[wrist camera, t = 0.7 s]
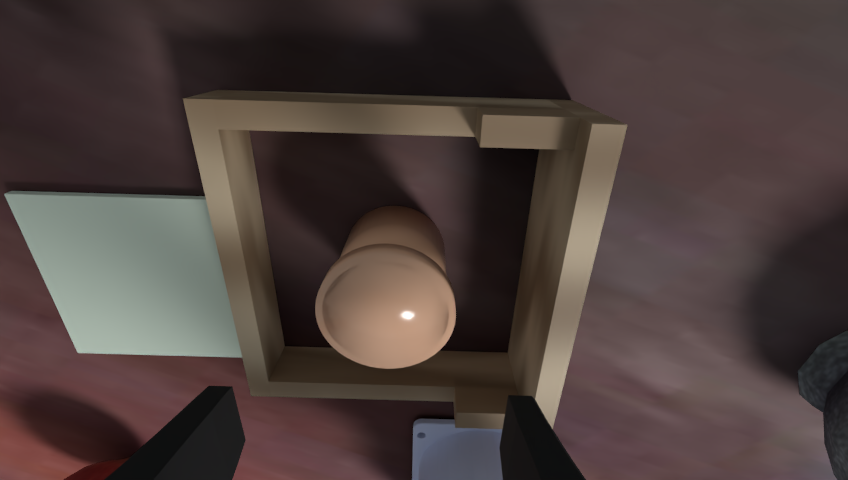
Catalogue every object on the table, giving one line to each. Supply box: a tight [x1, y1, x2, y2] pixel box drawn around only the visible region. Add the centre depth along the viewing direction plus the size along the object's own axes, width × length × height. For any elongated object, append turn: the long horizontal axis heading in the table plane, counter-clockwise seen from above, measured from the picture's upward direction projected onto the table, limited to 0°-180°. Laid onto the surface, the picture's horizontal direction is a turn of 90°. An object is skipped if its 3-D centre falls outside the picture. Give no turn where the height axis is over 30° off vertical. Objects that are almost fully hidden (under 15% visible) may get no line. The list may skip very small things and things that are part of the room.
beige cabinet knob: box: [315, 206, 456, 369], centre depth 17 cm, size 5×5×5 cm
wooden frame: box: [183, 90, 627, 429], centre depth 17 cm, size 14×14×5 cm
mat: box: [4, 191, 242, 357], centre depth 20 cm, size 9×9×1 cm
